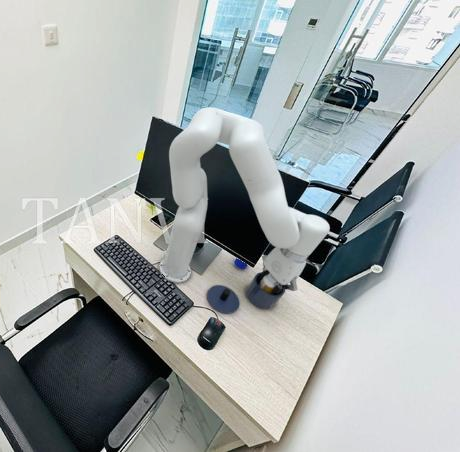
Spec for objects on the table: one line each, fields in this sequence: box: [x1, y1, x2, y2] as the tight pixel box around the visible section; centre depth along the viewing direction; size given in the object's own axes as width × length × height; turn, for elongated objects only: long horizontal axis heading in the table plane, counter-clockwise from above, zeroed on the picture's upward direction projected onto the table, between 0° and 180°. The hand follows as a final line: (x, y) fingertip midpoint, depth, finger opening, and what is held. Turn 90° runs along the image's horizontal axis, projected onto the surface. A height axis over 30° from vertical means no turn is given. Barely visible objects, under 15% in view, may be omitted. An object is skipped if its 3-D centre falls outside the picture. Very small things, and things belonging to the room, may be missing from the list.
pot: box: [245, 271, 286, 310], centre depth 93 cm, size 10×10×8 cm
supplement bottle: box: [258, 273, 279, 295], centre depth 90 cm, size 5×5×10 cm
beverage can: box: [233, 257, 249, 270], centre depth 101 cm, size 5×5×15 cm
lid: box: [206, 284, 240, 314], centre depth 92 cm, size 11×11×6 cm
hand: (269, 284), depth 90 cm, fingers closed on supplement bottle, 5 cm apart
